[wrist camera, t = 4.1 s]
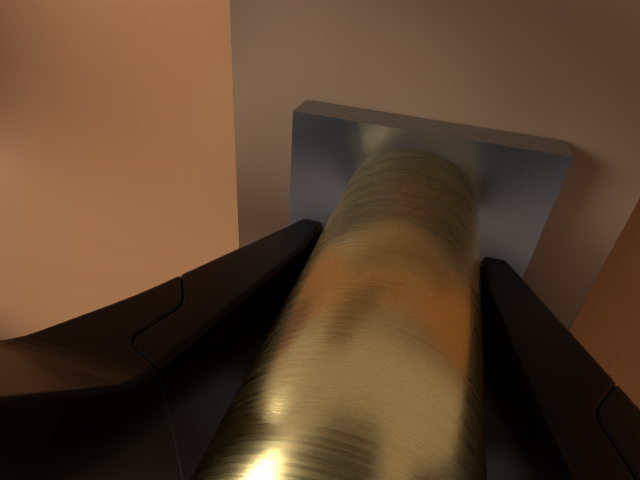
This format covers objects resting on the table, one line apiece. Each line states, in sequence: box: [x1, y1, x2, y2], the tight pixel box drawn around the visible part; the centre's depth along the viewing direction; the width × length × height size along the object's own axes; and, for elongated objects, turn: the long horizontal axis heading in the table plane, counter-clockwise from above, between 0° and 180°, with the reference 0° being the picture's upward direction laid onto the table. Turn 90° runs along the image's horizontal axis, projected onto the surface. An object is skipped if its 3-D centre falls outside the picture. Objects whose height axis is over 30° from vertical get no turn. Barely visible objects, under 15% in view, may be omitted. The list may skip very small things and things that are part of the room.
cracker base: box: [230, 0, 640, 330], centre depth 12 cm, size 23×10×6 cm, turn 175°
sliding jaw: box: [190, 100, 573, 480], centre depth 9 cm, size 8×8×9 cm
